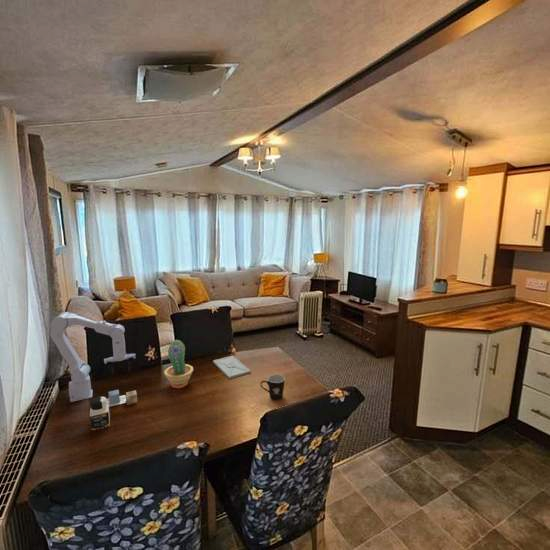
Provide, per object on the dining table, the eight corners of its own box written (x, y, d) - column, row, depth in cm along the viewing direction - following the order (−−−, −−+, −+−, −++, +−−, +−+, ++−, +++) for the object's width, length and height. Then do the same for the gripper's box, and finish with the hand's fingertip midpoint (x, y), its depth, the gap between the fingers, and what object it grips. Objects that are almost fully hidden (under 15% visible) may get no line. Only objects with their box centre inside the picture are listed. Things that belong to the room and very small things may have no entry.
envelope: (229, 380, 182) (250, 373, 189) (229, 376, 182) (250, 370, 189) (213, 363, 202) (233, 358, 209) (213, 360, 201) (233, 355, 209)
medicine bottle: (91, 431, 137) (88, 405, 134) (91, 422, 143) (89, 397, 141) (109, 426, 140) (107, 401, 138) (109, 417, 146) (107, 393, 144)
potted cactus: (158, 387, 172) (155, 343, 168) (177, 375, 186) (175, 333, 182) (182, 393, 166) (179, 347, 162) (199, 380, 180) (197, 337, 176)
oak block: (127, 405, 156) (126, 396, 155) (126, 400, 160) (126, 392, 159) (137, 403, 158) (136, 394, 157) (136, 398, 162) (135, 390, 161)
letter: (103, 408, 153) (103, 408, 153) (103, 400, 160) (103, 399, 160) (127, 402, 158) (127, 402, 158) (126, 394, 165) (126, 394, 165)
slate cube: (109, 404, 156) (108, 396, 155) (109, 400, 160) (108, 391, 159) (119, 402, 158) (119, 393, 157) (119, 397, 162) (118, 389, 161)
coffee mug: (287, 394, 165) (287, 376, 164) (280, 403, 158) (280, 384, 156) (267, 389, 170) (267, 372, 169) (259, 397, 163) (259, 379, 161)
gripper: (103, 354, 158) (105, 379, 160) (135, 348, 164) (137, 373, 167) (103, 349, 164) (105, 374, 166) (134, 344, 171) (135, 368, 173)
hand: (121, 373), depth 167 cm, fingers open, 7 cm apart
